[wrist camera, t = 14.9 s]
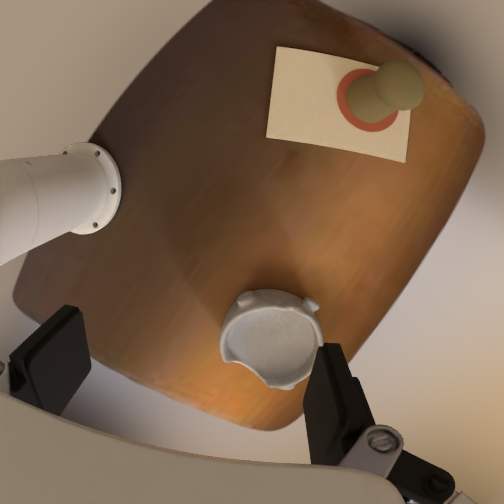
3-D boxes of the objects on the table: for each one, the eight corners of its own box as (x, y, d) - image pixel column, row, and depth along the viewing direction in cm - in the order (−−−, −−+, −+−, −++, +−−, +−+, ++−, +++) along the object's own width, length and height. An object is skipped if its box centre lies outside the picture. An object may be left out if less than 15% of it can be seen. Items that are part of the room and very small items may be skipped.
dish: (298, 376, 45) (301, 398, 40) (211, 353, 44) (206, 374, 39) (337, 297, 41) (346, 314, 36) (239, 267, 40) (237, 282, 35)
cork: (358, 68, 31) (391, 40, 21) (397, 94, 32) (441, 78, 22) (337, 106, 33) (367, 87, 23) (378, 132, 34) (420, 125, 23)
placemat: (266, 137, 35) (266, 137, 35) (276, 47, 31) (277, 45, 31) (404, 162, 35) (405, 162, 35) (411, 77, 32) (412, 77, 31)
